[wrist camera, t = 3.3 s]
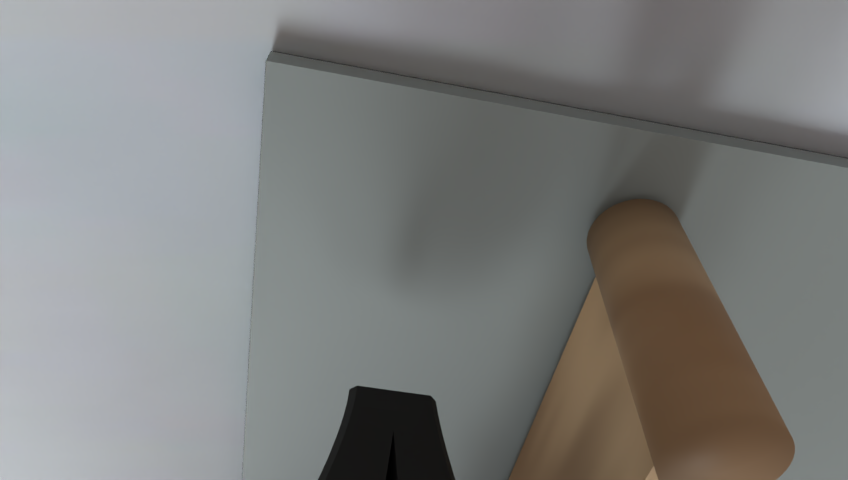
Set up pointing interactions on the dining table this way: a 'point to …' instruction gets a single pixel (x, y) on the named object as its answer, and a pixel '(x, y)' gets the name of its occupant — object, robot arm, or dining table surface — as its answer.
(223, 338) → the dining table surface
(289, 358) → the board
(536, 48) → the dining table surface
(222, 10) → the dining table surface
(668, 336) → the fence gate
